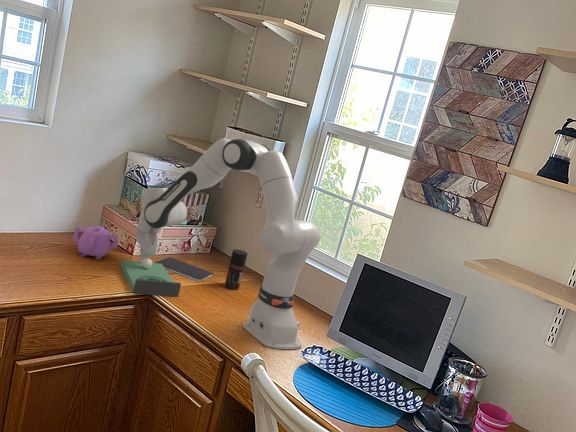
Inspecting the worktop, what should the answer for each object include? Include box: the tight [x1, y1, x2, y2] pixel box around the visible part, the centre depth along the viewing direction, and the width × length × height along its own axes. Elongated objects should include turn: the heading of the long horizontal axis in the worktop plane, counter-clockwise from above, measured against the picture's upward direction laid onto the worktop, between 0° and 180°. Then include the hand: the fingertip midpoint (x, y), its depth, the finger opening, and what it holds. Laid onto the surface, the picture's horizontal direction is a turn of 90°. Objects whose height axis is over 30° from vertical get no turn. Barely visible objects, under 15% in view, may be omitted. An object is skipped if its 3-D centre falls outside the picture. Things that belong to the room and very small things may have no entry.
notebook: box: [154, 256, 215, 282], centre depth 244 cm, size 13×2×21 cm
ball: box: [140, 257, 153, 269], centre depth 227 cm, size 4×4×4 cm
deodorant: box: [223, 249, 248, 291], centre depth 237 cm, size 6×6×15 cm
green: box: [119, 259, 182, 298], centre depth 221 cm, size 27×16×5 cm, turn 26°
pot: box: [71, 225, 119, 260], centre depth 233 cm, size 18×17×12 cm
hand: (142, 259), depth 233 cm, fingers closed
